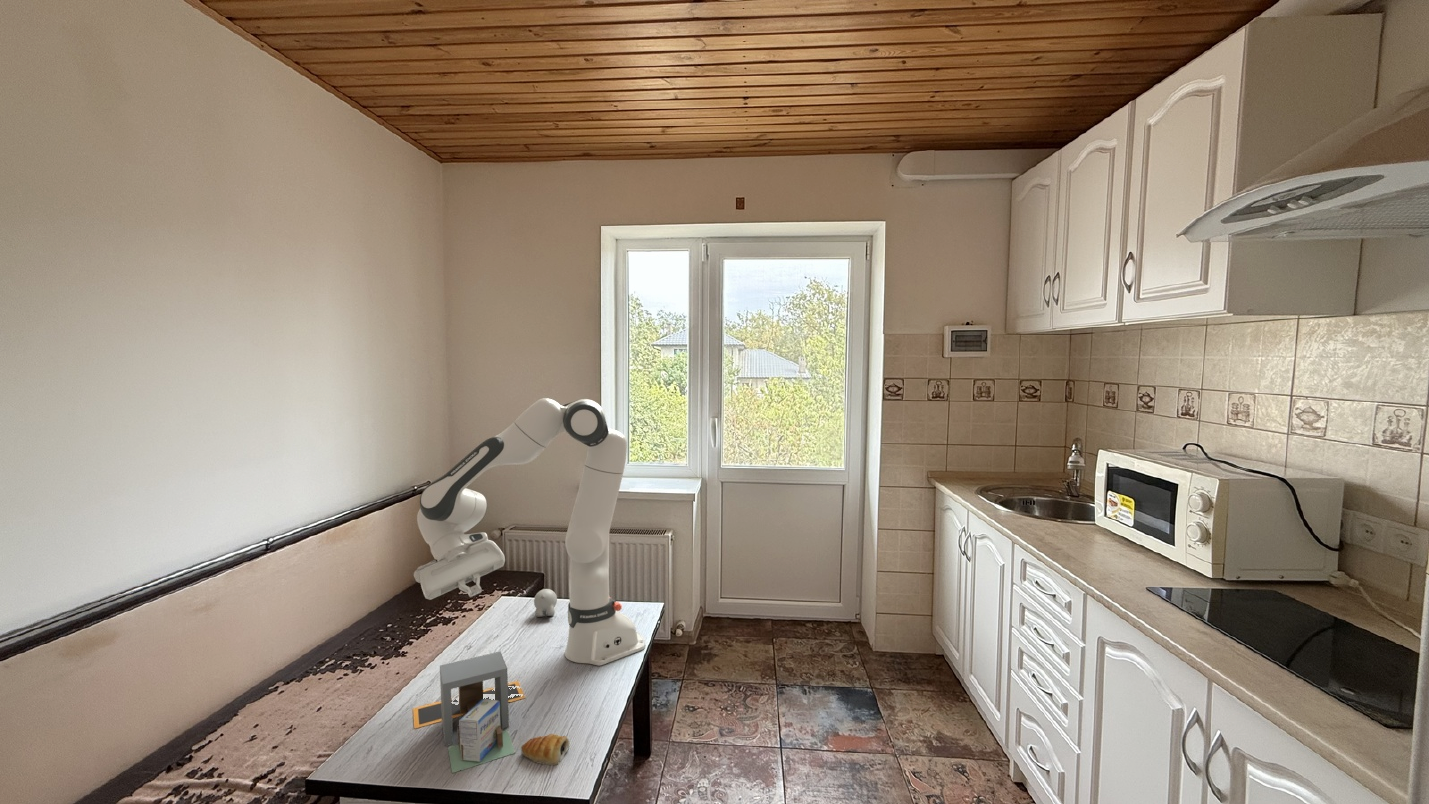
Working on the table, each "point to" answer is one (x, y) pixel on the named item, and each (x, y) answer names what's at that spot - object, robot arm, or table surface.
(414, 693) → the table surface
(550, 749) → the pastry
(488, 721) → the medicine box
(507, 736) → the pad
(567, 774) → the table surface
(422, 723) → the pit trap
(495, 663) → the tunnel
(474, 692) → the block
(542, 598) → the round bodied animal figurine
